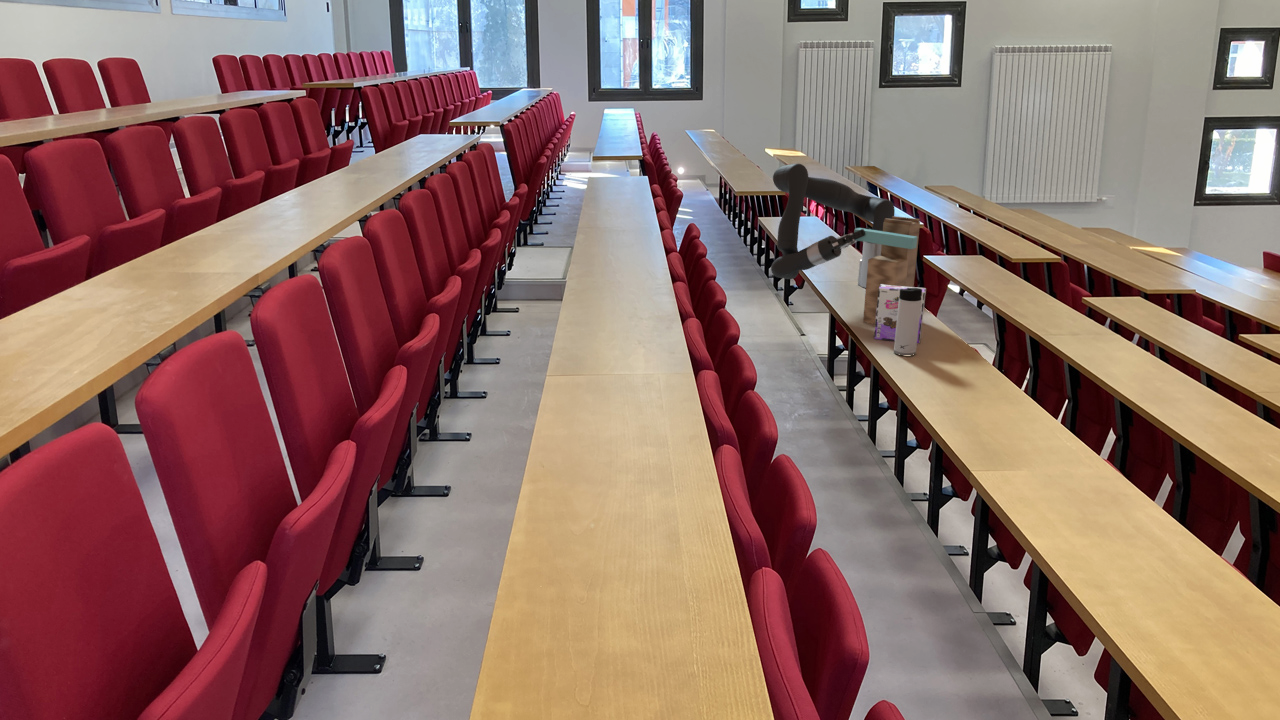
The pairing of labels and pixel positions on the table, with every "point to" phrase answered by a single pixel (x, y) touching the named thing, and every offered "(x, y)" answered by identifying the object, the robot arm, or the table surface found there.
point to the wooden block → (882, 281)
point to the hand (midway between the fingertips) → (866, 231)
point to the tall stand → (906, 228)
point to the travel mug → (907, 321)
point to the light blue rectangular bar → (888, 238)
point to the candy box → (892, 312)
